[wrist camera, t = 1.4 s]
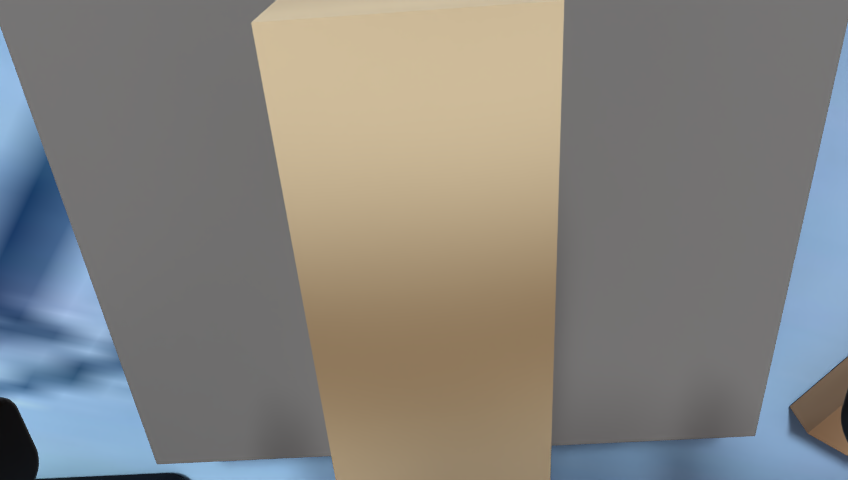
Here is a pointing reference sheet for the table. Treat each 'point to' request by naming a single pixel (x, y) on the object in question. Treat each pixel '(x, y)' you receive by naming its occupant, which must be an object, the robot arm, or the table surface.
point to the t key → (423, 225)
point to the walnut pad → (825, 408)
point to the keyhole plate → (577, 211)
